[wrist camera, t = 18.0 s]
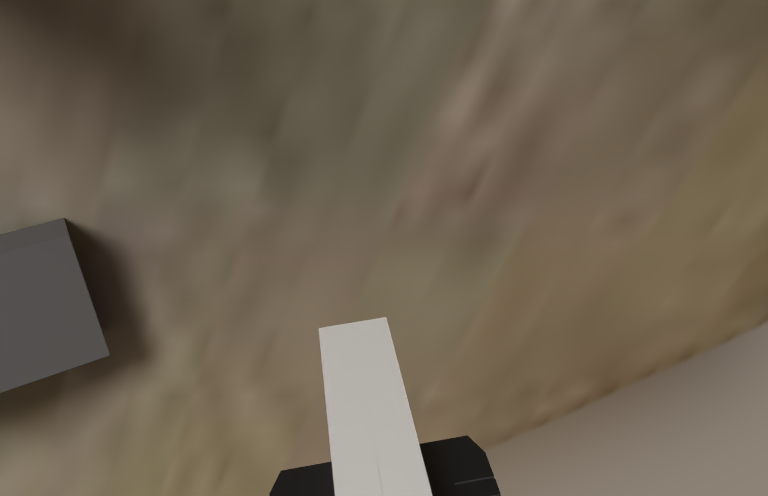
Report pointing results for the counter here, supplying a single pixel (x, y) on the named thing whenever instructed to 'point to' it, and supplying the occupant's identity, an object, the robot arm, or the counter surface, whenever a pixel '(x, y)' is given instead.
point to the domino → (44, 307)
